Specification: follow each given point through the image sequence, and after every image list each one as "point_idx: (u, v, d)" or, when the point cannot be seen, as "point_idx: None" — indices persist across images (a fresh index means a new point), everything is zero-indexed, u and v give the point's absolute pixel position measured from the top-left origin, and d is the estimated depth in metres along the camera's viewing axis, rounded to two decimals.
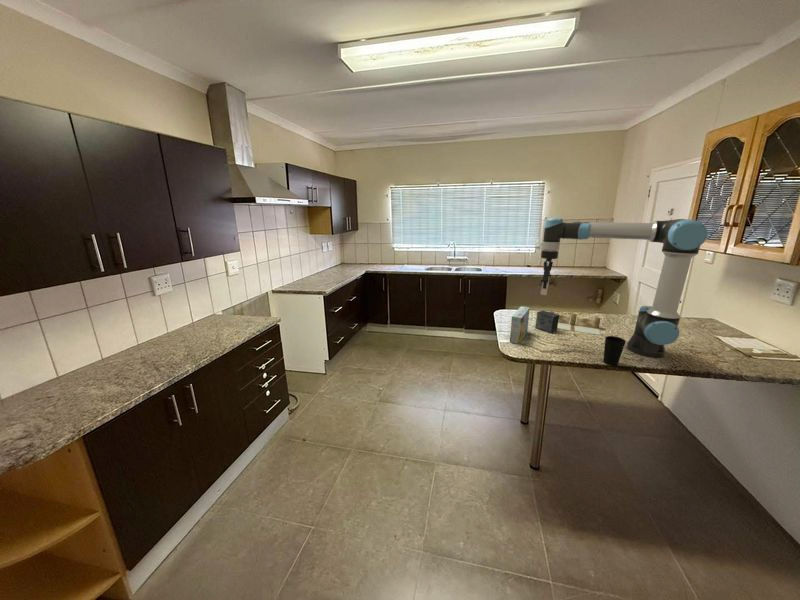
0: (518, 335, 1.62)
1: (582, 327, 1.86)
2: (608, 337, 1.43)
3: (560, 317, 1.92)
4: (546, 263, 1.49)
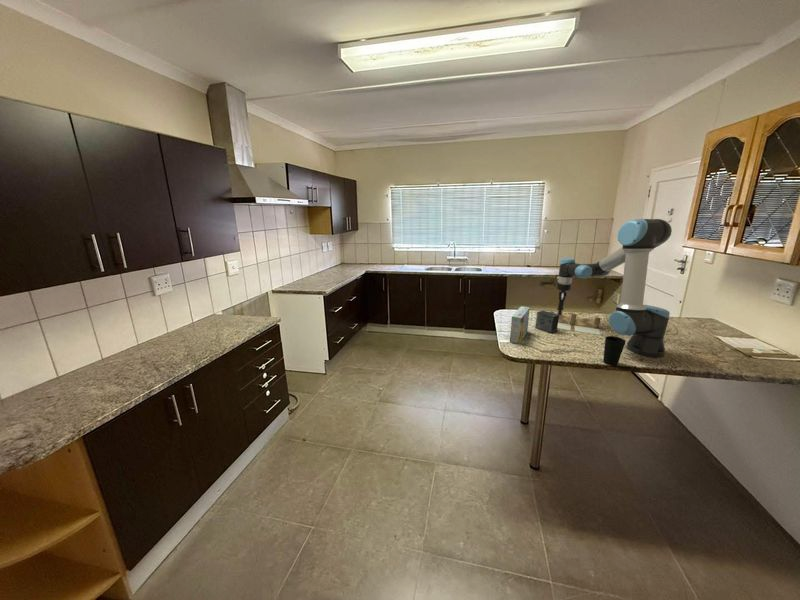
0: (518, 335, 1.62)
1: (582, 327, 1.86)
2: (608, 337, 1.43)
3: (560, 317, 1.92)
4: (560, 298, 1.86)
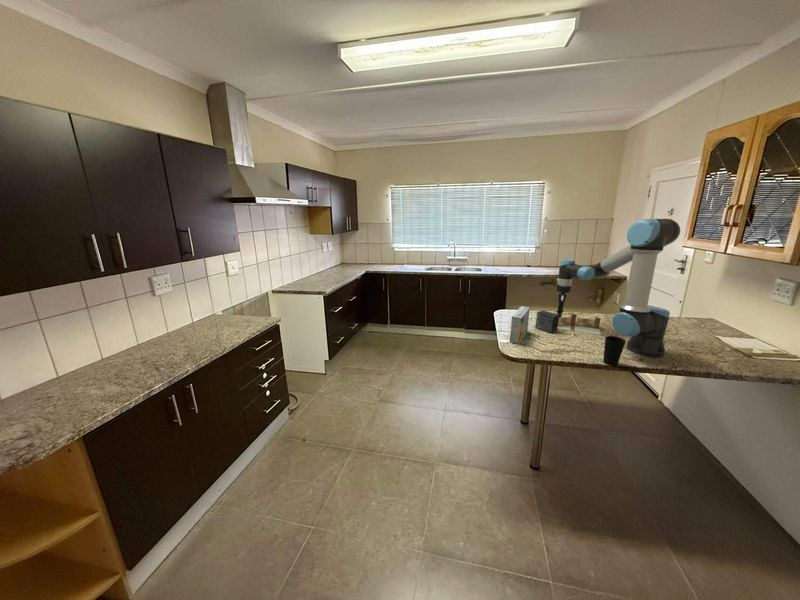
0: (518, 335, 1.62)
1: (582, 327, 1.86)
2: (608, 337, 1.43)
3: (564, 320, 1.87)
4: (560, 300, 1.81)
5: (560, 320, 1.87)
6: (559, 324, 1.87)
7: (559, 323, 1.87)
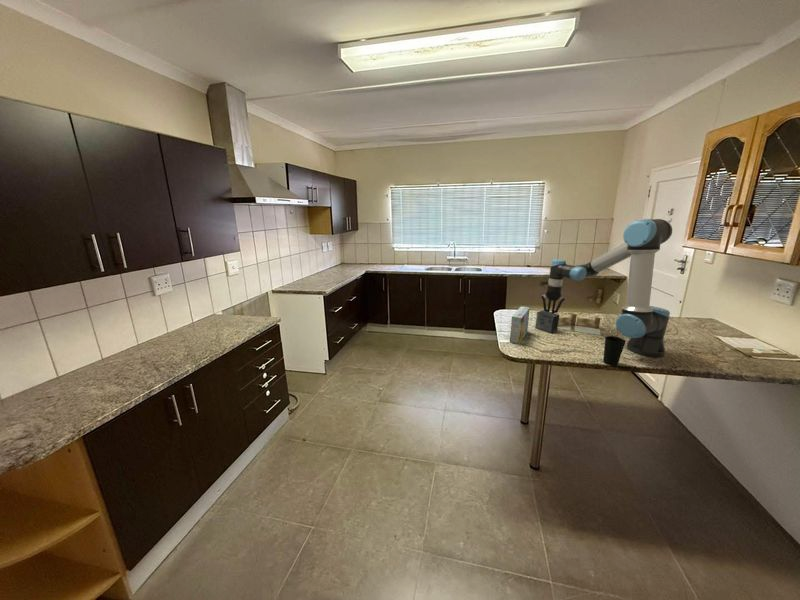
0: (518, 335, 1.62)
1: (582, 327, 1.86)
2: (608, 337, 1.43)
3: (564, 320, 1.87)
4: (563, 300, 1.82)
5: (560, 320, 1.87)
6: (559, 324, 1.87)
7: (559, 323, 1.87)
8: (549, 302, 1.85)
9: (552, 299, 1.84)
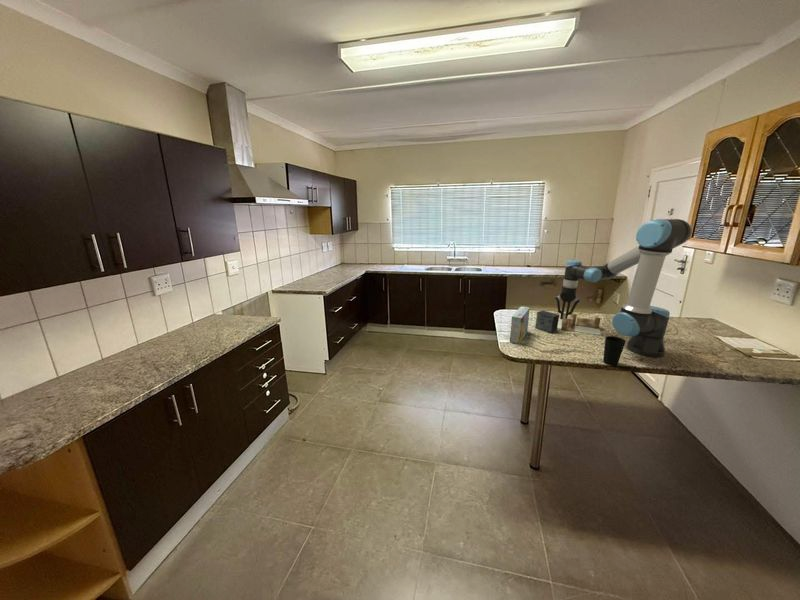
0: (518, 335, 1.62)
1: (582, 327, 1.86)
2: (608, 337, 1.43)
3: (569, 321, 1.84)
4: None
5: (567, 322, 1.83)
6: (566, 326, 1.83)
7: (566, 325, 1.83)
8: (563, 304, 1.82)
9: (567, 300, 1.81)
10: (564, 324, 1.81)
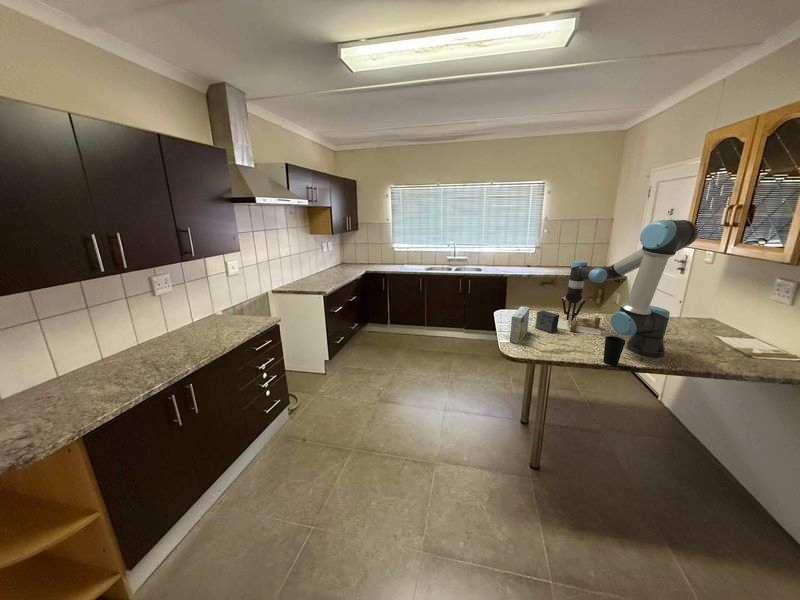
0: (518, 335, 1.62)
1: (582, 327, 1.86)
2: (608, 337, 1.43)
3: None
4: None
5: None
6: None
7: None
8: (569, 304, 1.81)
9: (572, 301, 1.80)
10: (574, 326, 1.77)
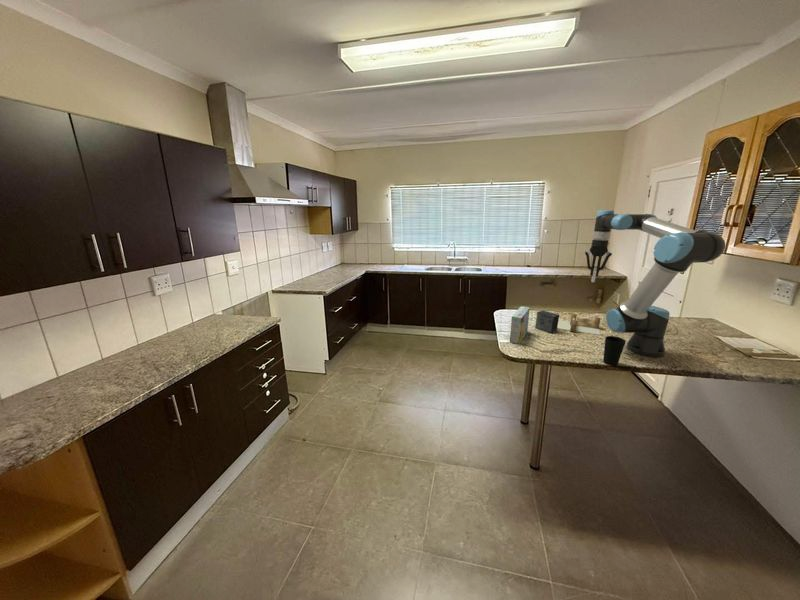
0: (518, 335, 1.62)
1: (582, 327, 1.86)
2: (608, 337, 1.43)
3: None
4: (610, 255, 1.67)
5: None
6: None
7: None
8: (594, 258, 1.70)
9: (597, 255, 1.69)
10: (574, 326, 1.77)
